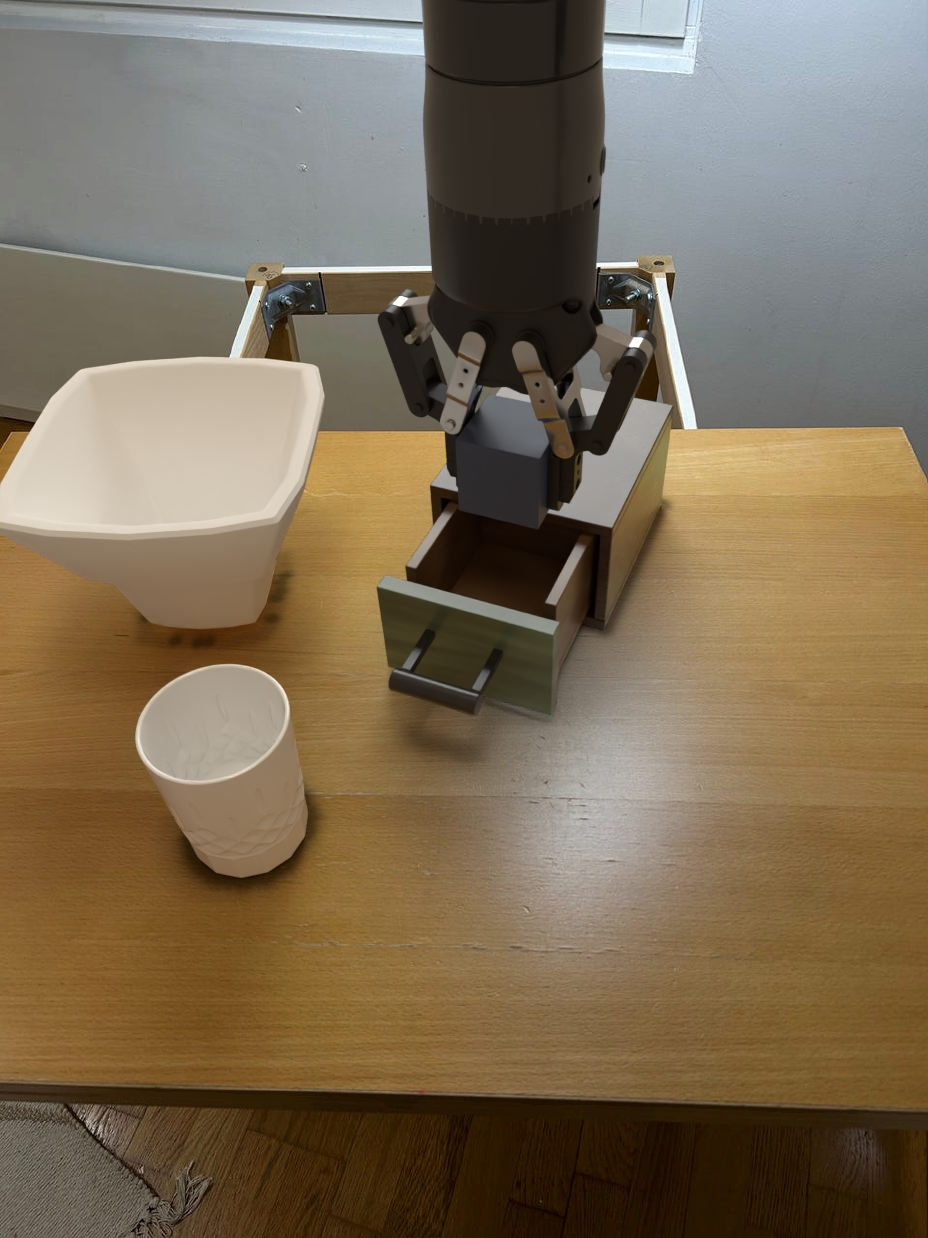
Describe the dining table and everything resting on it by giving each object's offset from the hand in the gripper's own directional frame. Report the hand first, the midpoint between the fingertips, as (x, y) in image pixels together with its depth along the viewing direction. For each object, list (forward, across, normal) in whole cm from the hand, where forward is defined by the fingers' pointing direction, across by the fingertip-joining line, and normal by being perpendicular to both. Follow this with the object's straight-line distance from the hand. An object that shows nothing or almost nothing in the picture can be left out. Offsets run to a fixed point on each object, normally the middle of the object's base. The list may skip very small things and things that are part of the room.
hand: (513, 489), depth 54 cm
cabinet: (+15, -2, +13) cm, 21 cm away
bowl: (+16, -23, 0) cm, 28 cm away
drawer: (+15, -2, +1) cm, 15 cm away
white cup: (+16, -10, -16) cm, 25 cm away
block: (0, 0, 0) cm, 0 cm away
